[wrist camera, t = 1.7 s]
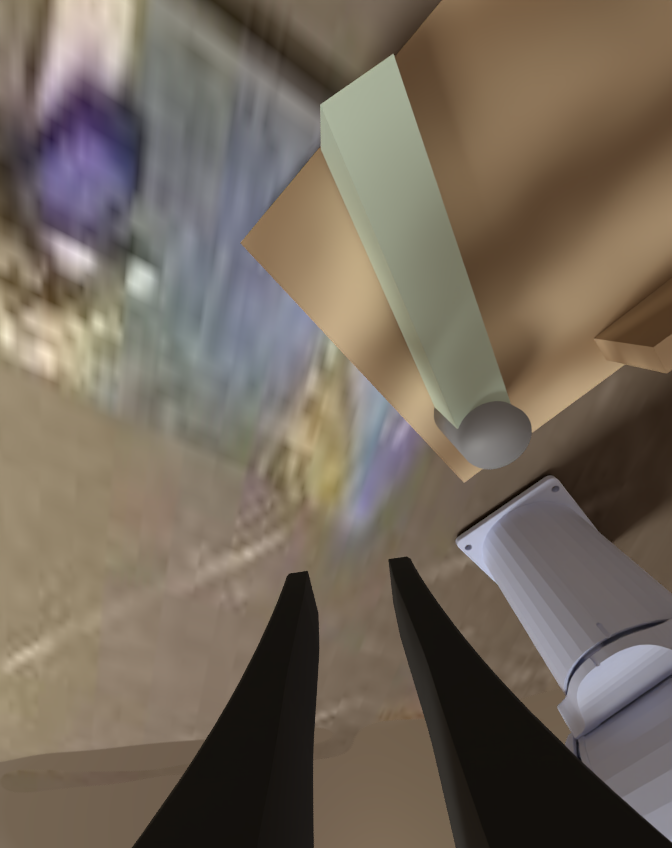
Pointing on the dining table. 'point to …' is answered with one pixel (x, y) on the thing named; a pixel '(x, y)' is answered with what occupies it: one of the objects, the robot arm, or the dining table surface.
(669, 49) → the stool seat
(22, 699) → the dining table surface
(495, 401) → the leg
